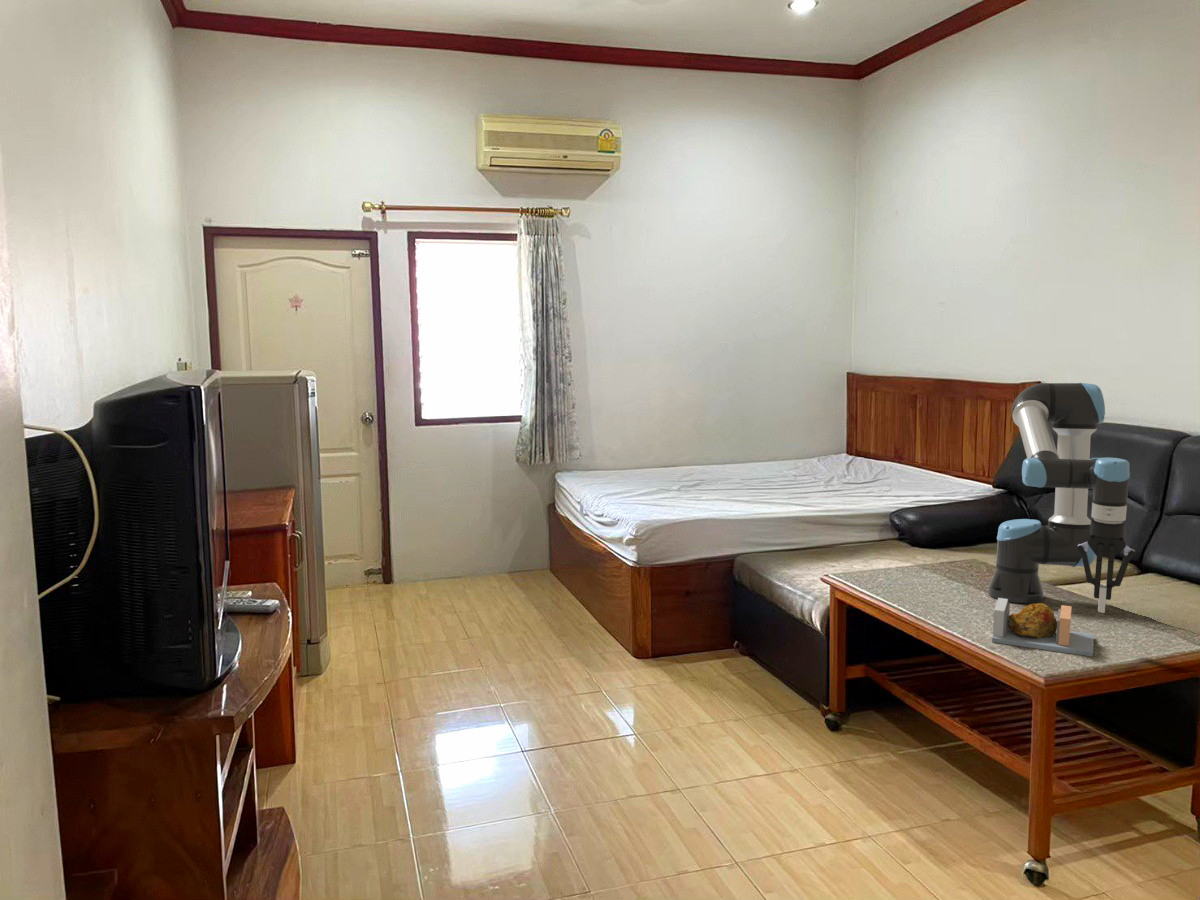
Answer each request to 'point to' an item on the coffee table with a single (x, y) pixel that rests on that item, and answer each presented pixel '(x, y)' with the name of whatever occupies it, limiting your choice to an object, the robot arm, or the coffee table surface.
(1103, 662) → the coffee table surface
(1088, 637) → the base
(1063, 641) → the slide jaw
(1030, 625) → the rock
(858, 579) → the coffee table surface
